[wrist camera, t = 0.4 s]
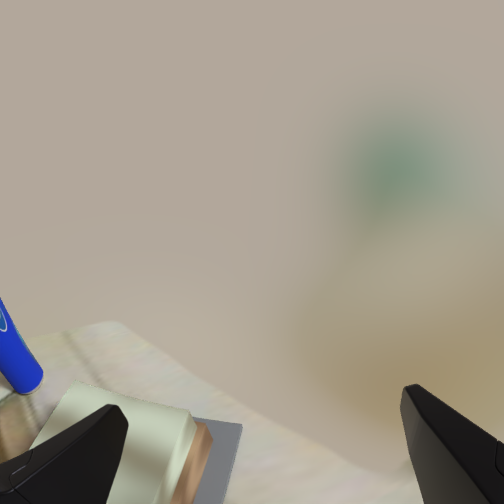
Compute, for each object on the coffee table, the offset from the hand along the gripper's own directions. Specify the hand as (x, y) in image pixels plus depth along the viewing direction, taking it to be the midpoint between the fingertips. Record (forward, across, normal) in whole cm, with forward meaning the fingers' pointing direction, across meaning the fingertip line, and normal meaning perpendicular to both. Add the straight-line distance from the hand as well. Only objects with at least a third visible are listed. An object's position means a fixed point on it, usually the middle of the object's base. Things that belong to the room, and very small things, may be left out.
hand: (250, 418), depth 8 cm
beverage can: (+11, +32, +10) cm, 35 cm away
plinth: (+4, +13, +14) cm, 20 cm away
